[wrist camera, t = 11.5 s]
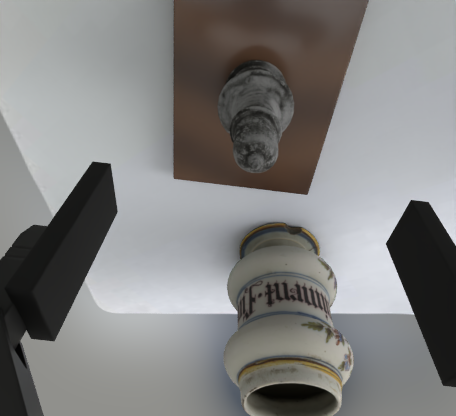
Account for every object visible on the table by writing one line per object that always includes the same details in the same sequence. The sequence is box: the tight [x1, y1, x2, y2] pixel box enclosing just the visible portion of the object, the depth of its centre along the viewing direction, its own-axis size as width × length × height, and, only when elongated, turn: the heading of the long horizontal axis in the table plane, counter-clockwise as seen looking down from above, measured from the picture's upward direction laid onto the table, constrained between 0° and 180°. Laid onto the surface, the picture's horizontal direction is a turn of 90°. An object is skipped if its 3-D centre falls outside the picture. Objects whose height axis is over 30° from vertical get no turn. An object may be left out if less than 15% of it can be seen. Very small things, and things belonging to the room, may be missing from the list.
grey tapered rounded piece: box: [217, 60, 294, 173], centre depth 24 cm, size 6×6×12 cm
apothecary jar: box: [224, 223, 354, 416], centre depth 35 cm, size 12×12×18 cm
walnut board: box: [174, 0, 369, 195], centre depth 29 cm, size 20×14×1 cm
